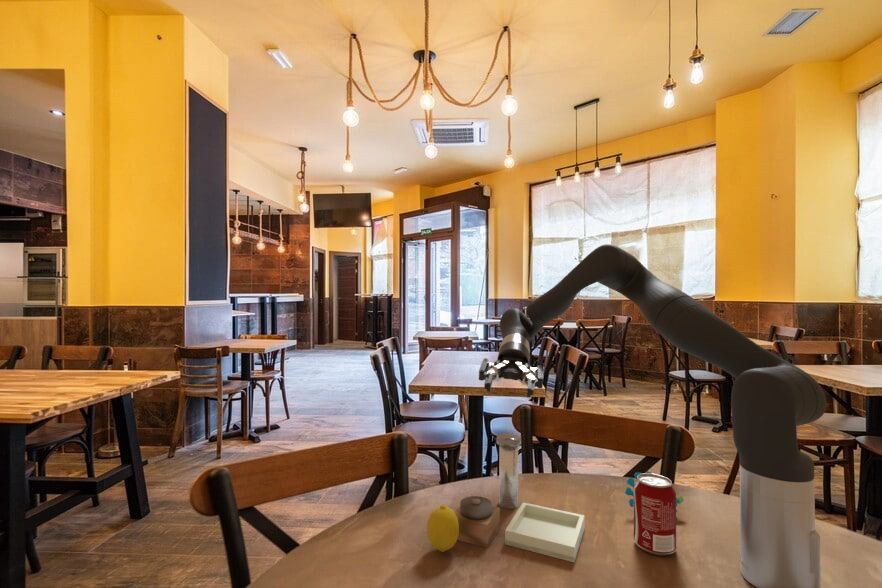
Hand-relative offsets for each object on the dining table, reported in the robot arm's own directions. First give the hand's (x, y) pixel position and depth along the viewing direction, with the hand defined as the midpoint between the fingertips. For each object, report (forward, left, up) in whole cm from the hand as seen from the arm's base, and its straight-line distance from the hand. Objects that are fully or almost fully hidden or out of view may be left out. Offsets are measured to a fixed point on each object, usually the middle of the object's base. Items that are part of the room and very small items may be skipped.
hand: (508, 391), depth 92 cm
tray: (-10, +8, -24) cm, 28 cm away
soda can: (-28, +3, -25) cm, 37 cm away
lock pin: (0, -1, -24) cm, 24 cm away
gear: (-28, -10, -25) cm, 38 cm away
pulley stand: (+2, +13, -24) cm, 28 cm away
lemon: (+5, +21, -25) cm, 33 cm away
